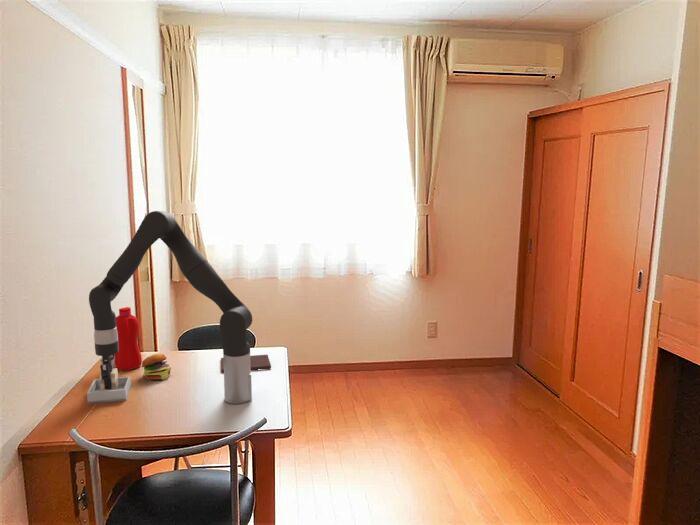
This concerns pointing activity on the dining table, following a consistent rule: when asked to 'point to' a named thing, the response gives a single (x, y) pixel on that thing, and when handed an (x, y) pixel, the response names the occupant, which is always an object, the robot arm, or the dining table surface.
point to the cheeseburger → (156, 367)
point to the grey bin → (109, 392)
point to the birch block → (113, 380)
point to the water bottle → (127, 341)
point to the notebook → (254, 362)
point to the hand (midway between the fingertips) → (109, 385)
